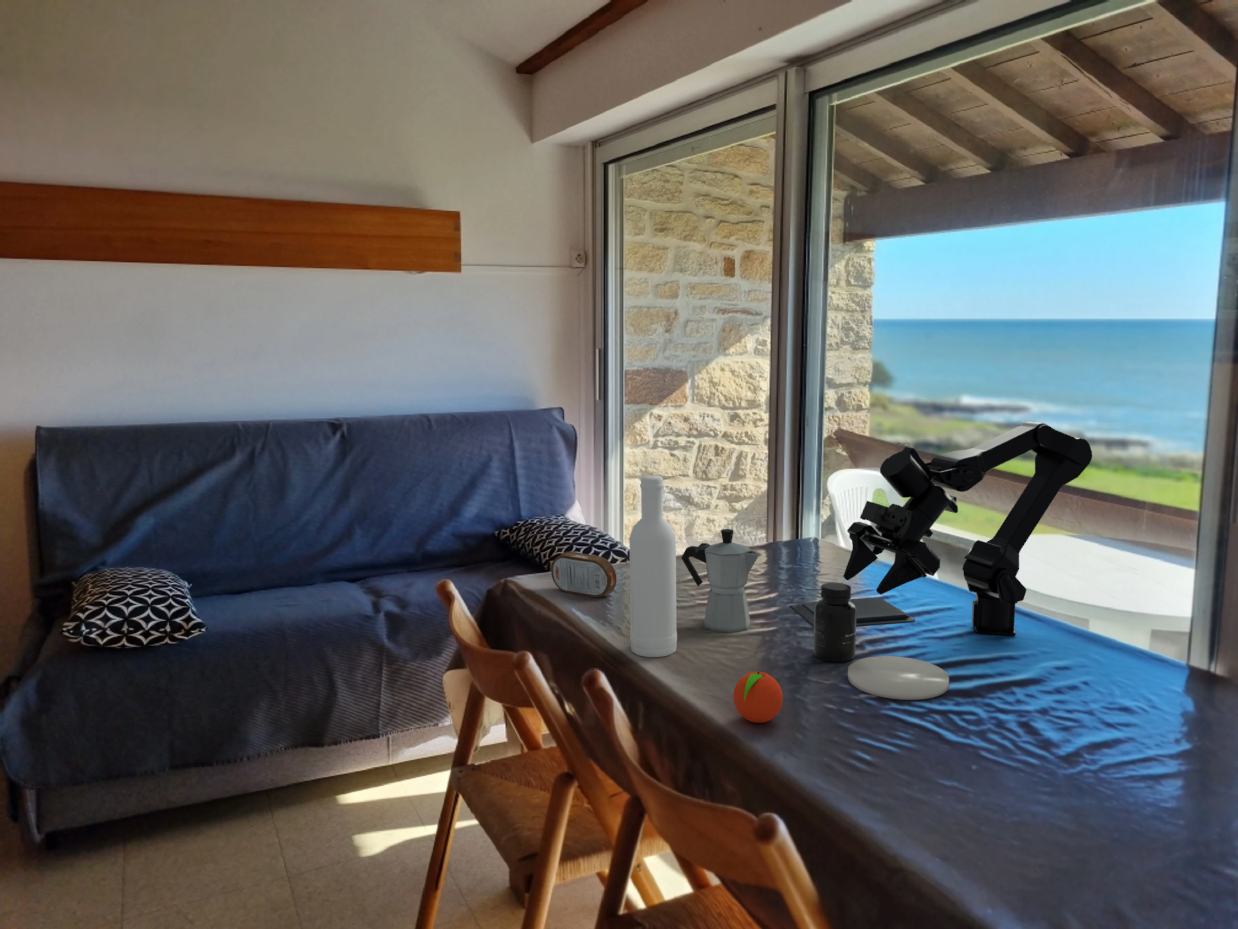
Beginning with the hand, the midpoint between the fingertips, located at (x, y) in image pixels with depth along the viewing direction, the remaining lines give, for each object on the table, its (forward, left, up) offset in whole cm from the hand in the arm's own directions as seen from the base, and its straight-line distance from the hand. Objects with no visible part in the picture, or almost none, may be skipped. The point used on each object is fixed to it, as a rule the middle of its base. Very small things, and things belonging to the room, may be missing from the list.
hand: (861, 585), depth 158 cm
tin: (+56, -22, -12) cm, 62 cm away
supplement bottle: (+4, +3, -12) cm, 13 cm away
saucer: (-6, +12, -11) cm, 18 cm away
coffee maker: (+25, -9, -12) cm, 29 cm away
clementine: (+13, +32, -12) cm, 37 cm away
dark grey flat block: (+2, -21, -12) cm, 25 cm away
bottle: (+34, +7, -12) cm, 37 cm away
